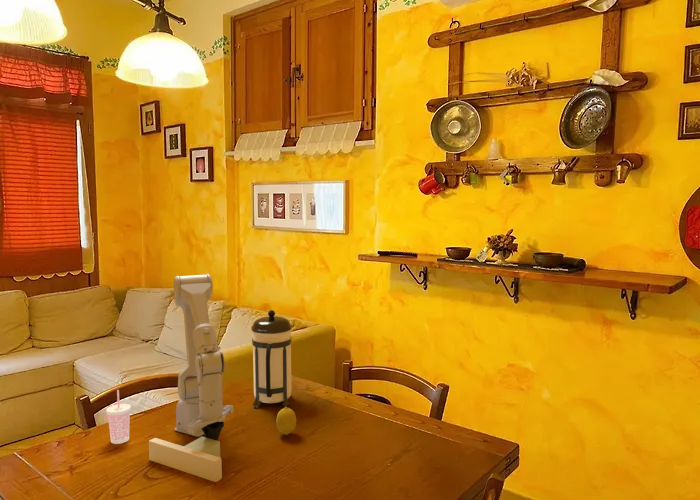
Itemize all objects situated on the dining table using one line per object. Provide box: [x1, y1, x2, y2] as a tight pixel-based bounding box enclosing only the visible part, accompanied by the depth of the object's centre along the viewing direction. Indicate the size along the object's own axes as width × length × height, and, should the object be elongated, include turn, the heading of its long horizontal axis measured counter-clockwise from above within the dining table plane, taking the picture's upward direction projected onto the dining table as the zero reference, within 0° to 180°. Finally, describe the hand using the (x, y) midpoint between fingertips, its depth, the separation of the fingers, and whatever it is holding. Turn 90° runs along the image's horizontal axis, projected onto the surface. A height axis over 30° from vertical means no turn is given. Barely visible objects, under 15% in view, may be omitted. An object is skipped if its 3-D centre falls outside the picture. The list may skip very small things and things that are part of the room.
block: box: [184, 436, 221, 458], centre depth 132 cm, size 6×7×4 cm
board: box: [148, 437, 223, 483], centre depth 129 cm, size 22×2×5 cm, turn 62°
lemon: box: [275, 407, 297, 436], centre depth 147 cm, size 6×6×8 cm
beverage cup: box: [106, 389, 132, 445], centre depth 144 cm, size 6×6×14 cm
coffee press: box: [251, 309, 293, 409], centre depth 169 cm, size 17×16×30 cm
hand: (212, 449), depth 136 cm, fingers closed, pressing on block
